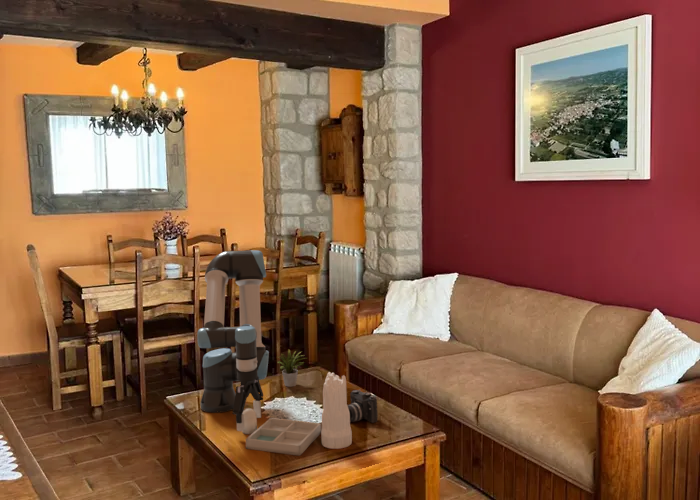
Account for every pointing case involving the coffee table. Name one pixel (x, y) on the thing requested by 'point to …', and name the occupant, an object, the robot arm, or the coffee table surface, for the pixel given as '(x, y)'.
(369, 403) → the camera
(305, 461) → the coffee table surface
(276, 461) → the coffee table surface
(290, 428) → the divided tray
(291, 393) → the coffee table surface
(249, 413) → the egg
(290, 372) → the house plant
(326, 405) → the decorative vase
